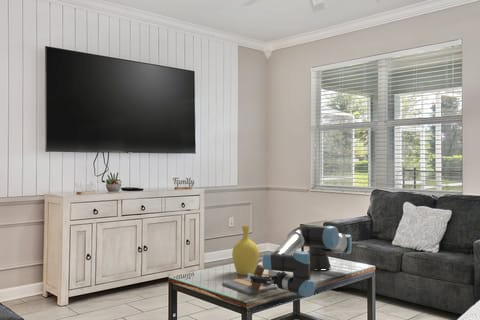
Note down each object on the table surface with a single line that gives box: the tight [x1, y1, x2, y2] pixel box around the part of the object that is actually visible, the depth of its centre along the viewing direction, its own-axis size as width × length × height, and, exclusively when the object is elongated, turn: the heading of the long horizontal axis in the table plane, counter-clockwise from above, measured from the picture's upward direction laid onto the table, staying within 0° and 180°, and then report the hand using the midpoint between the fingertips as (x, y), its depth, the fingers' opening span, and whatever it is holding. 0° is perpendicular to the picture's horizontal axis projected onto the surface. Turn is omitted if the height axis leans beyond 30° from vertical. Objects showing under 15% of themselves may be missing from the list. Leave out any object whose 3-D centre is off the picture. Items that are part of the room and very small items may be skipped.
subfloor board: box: [221, 277, 278, 296], centre depth 241 cm, size 18×24×2 cm
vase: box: [231, 225, 260, 276], centre depth 273 cm, size 16×16×28 cm
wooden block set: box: [250, 264, 267, 291], centre depth 236 cm, size 18×9×10 cm, turn 162°
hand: (258, 273), depth 232 cm, fingers open, 13 cm apart
